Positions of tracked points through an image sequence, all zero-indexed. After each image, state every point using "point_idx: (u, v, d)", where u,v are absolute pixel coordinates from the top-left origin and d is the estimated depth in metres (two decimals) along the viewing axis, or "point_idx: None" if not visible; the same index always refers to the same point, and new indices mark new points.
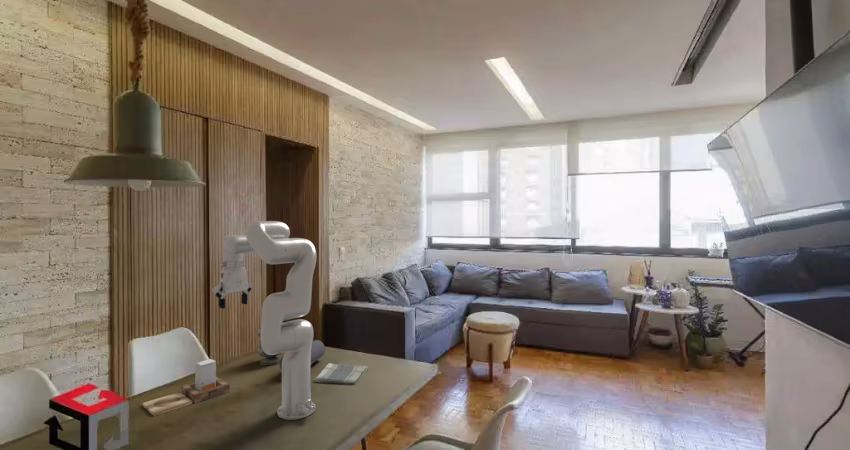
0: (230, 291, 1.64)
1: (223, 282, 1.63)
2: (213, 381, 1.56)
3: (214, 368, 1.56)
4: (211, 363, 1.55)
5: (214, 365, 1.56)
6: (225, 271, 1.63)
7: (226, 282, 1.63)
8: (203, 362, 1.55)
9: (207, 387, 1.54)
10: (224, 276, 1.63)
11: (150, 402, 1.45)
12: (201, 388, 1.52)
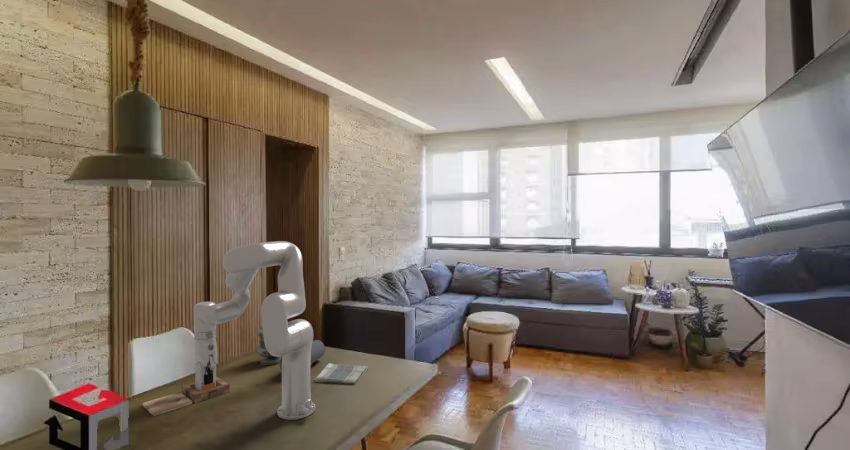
0: None
1: (214, 353, 1.53)
2: (213, 381, 1.56)
3: None
4: None
5: None
6: (215, 341, 1.54)
7: None
8: None
9: (207, 387, 1.54)
10: (215, 346, 1.53)
11: (150, 402, 1.45)
12: (201, 388, 1.52)
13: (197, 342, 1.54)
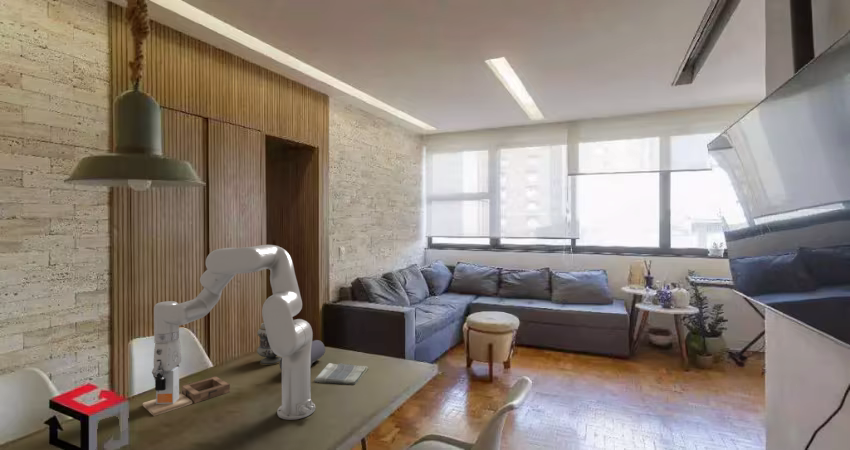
0: (171, 367, 1.43)
1: (163, 359, 1.40)
2: (170, 392, 1.43)
3: (171, 378, 1.43)
4: (168, 372, 1.43)
5: (171, 375, 1.43)
6: (165, 346, 1.41)
7: (167, 358, 1.41)
8: None
9: (163, 396, 1.43)
10: (164, 352, 1.41)
11: (150, 402, 1.45)
12: (157, 396, 1.43)
13: None
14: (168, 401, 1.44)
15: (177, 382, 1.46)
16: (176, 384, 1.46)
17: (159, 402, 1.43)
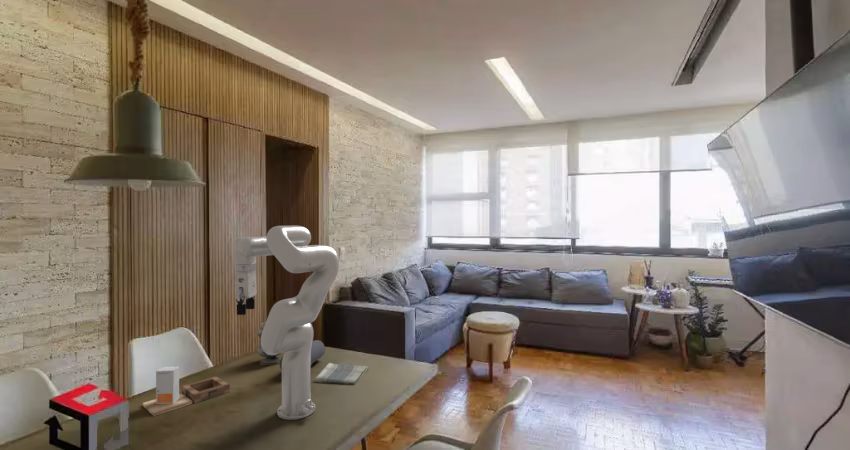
0: (250, 295, 1.56)
1: (244, 287, 1.54)
2: (170, 392, 1.44)
3: (171, 378, 1.43)
4: (168, 372, 1.43)
5: (171, 375, 1.43)
6: (246, 275, 1.55)
7: (248, 286, 1.55)
8: (165, 368, 1.45)
9: (163, 396, 1.43)
10: (245, 280, 1.54)
11: (150, 402, 1.45)
12: (157, 396, 1.43)
13: None
14: (168, 401, 1.44)
15: (177, 382, 1.46)
16: (176, 384, 1.46)
17: (159, 402, 1.43)
